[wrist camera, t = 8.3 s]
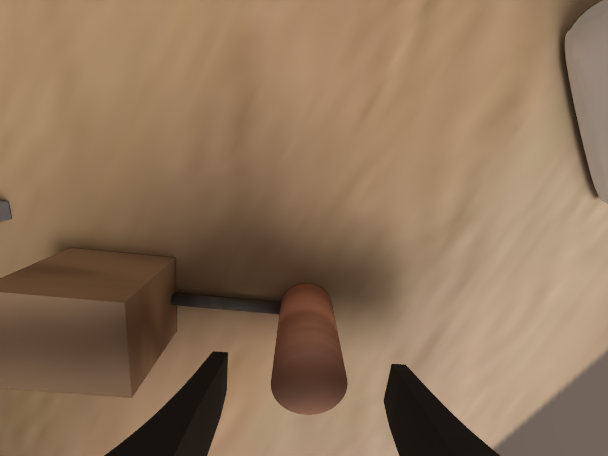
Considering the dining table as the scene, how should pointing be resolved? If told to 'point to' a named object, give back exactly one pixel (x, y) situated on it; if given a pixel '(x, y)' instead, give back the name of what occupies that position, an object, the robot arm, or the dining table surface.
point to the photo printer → (591, 88)
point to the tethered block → (146, 329)
